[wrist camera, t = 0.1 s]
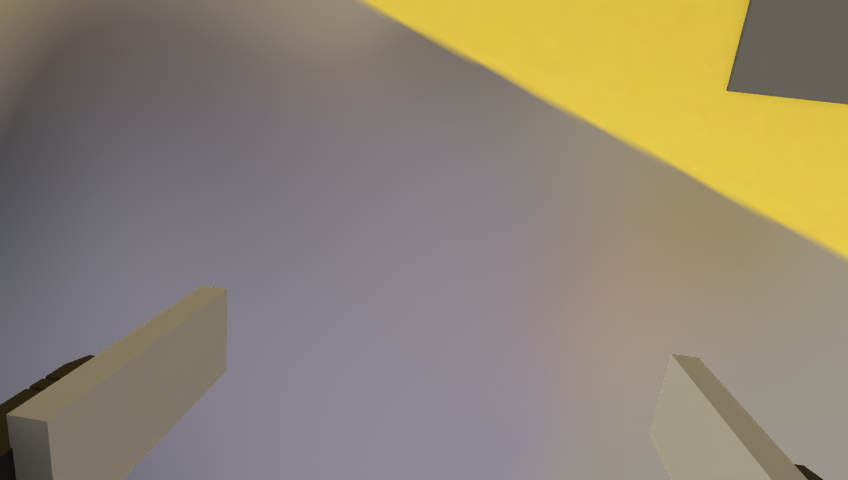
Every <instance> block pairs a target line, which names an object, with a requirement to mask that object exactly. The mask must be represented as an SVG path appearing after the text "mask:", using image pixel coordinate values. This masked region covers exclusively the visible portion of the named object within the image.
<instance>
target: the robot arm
mask: <svg viewBox="0 0 848 480" xmlns="http://www.w3.org/2000/svg"><path fill="white" fill-rule="evenodd" d="M226 332H227V289H222V288H215V287H208V286H202V287H200V288H198V289H197V290H195V291H194V292H192V293H191V294H189V295H188V296H186V297H185V298H183V299H182V300H180V301H178V302H177V303H175V304H174V305H172V306H171V307H169V308H168V309H166V310H165V311H163V312H162V313H160V314H159V315H157V316H156V317H154V318H153V319H151V320H150V321H148V322H146V323H145V324H143V325H142V326H140V327H139V328H137V329H136V330H134V331H133V332H131V333H130V334H128V335H127V336H125V337H124V338H122V339H121V340H119V341H118V342H116V343H114V344H113V345H111V346H110V347H108V348H107V349H105V350H104V351H102V352H101V353H99V354H98V355H97V356H91V355H89V356H86V357H83V358H81V359H78V360H75V361H73V362H70V363H67V364H65V365H63V366H62V367H60V368H58V369H57V370H55V371H54V372H52V373H51V374H49V375H47V376H46V378H45V379H41V380H39V381H38V382H36V383H34V384H33V385H31V386H30V388H29V389H25V390H23V391H22V392H20V393H19V394H17V395H15V396H14V397H12V398H11V399H9V400H7V401H6V402H4V403H3V404H1V405H0V480H123V479H124V478H125V477H126V476H127V475H128V474H129V473H130V472H131V471H132V470H133V469H134V468H135V467H136V466H137V465H138V464H139V463H140V461H141V460H142V459H143V458H144V457H145V456H146V455H147V454H148V453H149V452H150V451H151V450H152V449H153V448H154V446H155V445H156V444H157V443H158V442H159V441H160V440H161V439H162V438H163V437H164V436H165V435H166V434H167V433H168V432H169V431H170V429H171V428H172V427H173V426H174V425H175V424H176V423H177V422H178V421H179V420H180V419H181V418H182V417H183V416H184V415H185V414H186V413H187V411H188V410H189V409H190V408H191V407H192V406H193V405H194V404H195V403H196V402H197V401H198V400H199V399H200V398H201V397H202V396H203V395H204V394H205V392H206V391H207V390H208V389H209V388H210V387H211V386H212V385H213V384H214V383H215V382H216V381H217V380H218V379H219V378H220V377H221V375H222V374H223V373H224V372H225V371H226V338H227V337H226V336H227V333H226ZM649 438H650V440H651V442H652V443H653V445H654V447H655V449H656V451H657V453H658V455H659V456H660V458H661V461H662V462H663V464H664V466H665V468H666V470H667V472H668V474H669V476H670V478H671V479H672V480H823V479H822V478H820V477H819V476H817V475H816V474H815V473H813V472H812V471H810V470H809V469H807V468H806V467H805V466H802V465H796V464H793V463H792V462H791V460H790V459H789V458H788V457H787V456H786V455H785V454H784V453H783V452H782V450H781V449H780V448H779V447H778V446H777V445H776V444H775V443H774V442H773V440H772V439H771V438H770V437H769V436H768V435H767V434H766V433H765V431H764V430H763V429H762V428H761V427H760V426H759V425H758V424H757V422H756V421H754V419H753V418H752V417H751V416H750V415H749V414H748V412H747V411H746V410H745V409H744V408H743V407H742V406H741V405H740V404H739V402H738V401H737V400H736V399H735V398H734V397H733V396H732V395H731V393H730V392H729V391H728V390H727V389H726V388H725V387H724V386H723V385H722V383H721V382H720V381H719V380H718V379H717V378H716V377H715V376H714V374H713V373H712V372H711V371H710V370H709V369H708V368H707V367H706V366H705V365H704V363H703V362H702V361H701V360H700V359H699V358H695V357H689V356H681V355H675V354H671V357H670V361H669V364H668V368H667V372H666V376H665V379H664V383H663V386H662V390H661V394H660V398H659V402H658V405H657V409H656V412H655V416H654V420H653V424H652V427H651V431H650V434H649Z"/></svg>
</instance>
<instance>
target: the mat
mask: <svg viewBox="0 0 848 480" xmlns="http://www.w3.org/2000/svg"><path fill="white" fill-rule="evenodd" d="M727 91H733V92H742V93H751V94H760V95H769V96H778V97H787V98H796V99H805V100H814V101H823V102H831V103H840V104H848V0H750V3H749V6H748V10H747V14H746V18H745V22H744V26H743V29H742V33H741V37H740V41H739V45H738V49H737V52H736V56H735V60H734V64H733V68H732V72H731V75H730V79H729V83H728V87H727Z"/></svg>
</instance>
